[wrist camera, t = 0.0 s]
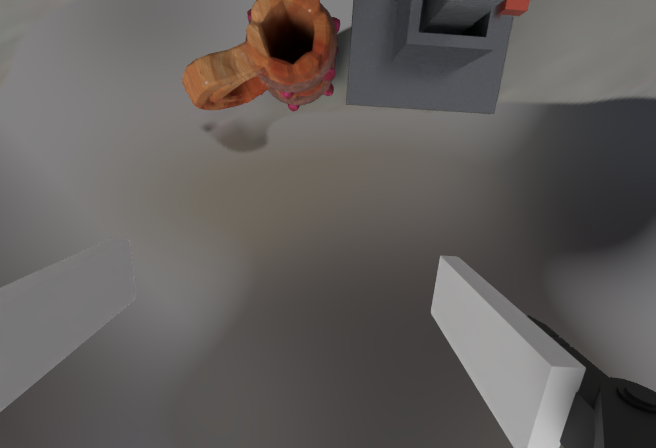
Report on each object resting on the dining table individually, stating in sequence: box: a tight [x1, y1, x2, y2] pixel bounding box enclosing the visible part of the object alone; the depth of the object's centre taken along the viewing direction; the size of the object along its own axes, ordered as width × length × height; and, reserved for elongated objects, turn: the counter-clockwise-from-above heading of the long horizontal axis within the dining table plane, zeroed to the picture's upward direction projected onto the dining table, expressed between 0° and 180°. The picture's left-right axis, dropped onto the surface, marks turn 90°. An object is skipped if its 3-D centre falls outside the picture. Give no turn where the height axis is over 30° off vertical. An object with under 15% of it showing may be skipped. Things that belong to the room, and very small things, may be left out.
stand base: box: [346, 0, 529, 114], centre depth 31 cm, size 18×18×9 cm
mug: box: [182, 0, 340, 111], centre depth 29 cm, size 15×8×15 cm, turn 114°
